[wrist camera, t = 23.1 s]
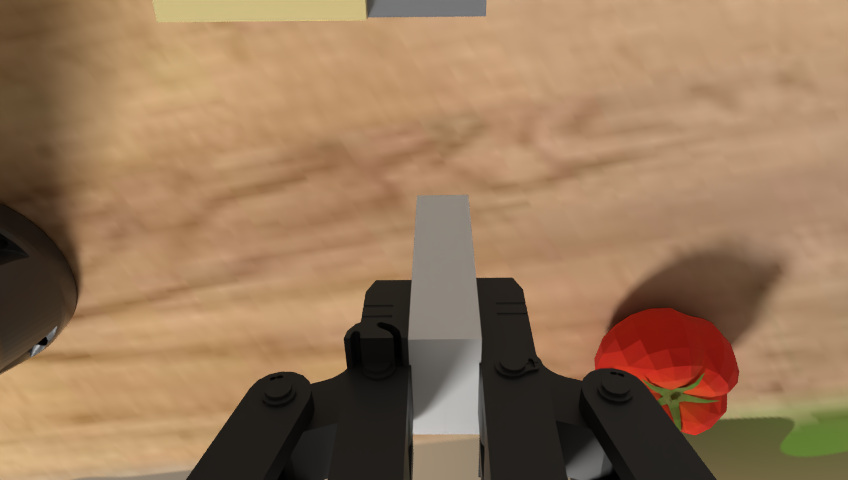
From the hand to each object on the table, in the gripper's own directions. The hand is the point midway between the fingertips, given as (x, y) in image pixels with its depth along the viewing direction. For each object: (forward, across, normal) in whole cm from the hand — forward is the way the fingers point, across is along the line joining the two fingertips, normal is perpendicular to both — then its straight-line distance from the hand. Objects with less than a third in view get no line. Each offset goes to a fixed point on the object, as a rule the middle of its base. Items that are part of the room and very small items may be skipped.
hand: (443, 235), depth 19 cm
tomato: (+26, +18, -26) cm, 41 cm away
